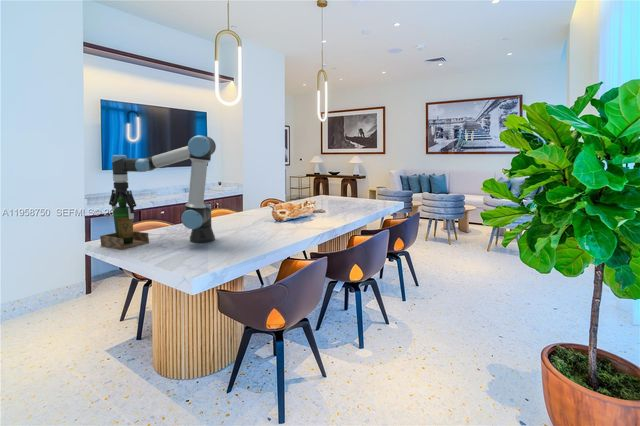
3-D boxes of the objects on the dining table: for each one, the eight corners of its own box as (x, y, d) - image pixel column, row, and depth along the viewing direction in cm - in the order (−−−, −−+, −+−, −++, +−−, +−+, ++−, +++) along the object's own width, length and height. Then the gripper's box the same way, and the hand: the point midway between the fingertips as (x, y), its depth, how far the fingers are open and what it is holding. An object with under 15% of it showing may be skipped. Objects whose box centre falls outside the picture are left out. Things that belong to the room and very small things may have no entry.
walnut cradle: (148, 243, 222) (148, 233, 221) (122, 249, 206) (121, 239, 205) (128, 239, 230) (127, 230, 229) (101, 246, 213) (100, 235, 212)
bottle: (126, 245, 211) (123, 197, 207) (110, 244, 213) (107, 196, 209) (139, 241, 222) (136, 195, 218) (123, 240, 224) (120, 194, 220)
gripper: (141, 182, 210) (143, 218, 213) (112, 180, 220) (115, 215, 224) (130, 183, 203) (132, 220, 207) (100, 181, 214) (103, 216, 217)
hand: (123, 217), depth 215 cm, fingers open, 13 cm apart
